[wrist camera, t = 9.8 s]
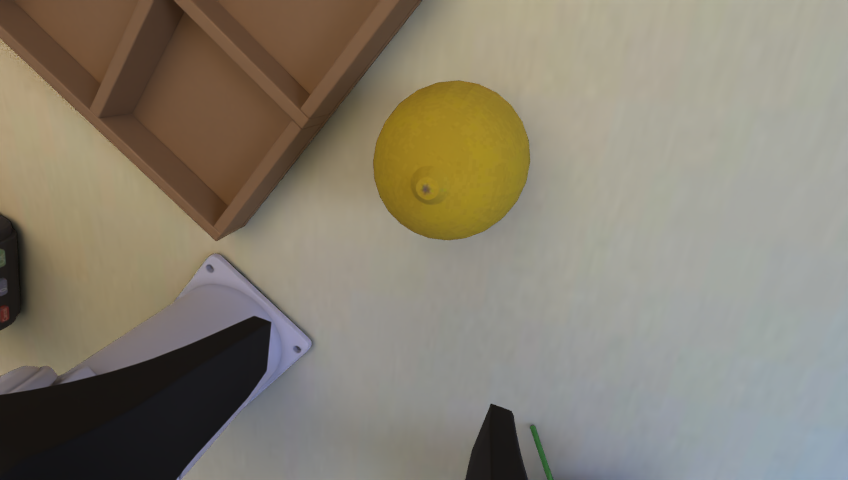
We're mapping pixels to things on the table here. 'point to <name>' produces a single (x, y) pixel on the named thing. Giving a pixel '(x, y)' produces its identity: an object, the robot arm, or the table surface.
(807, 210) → the table surface
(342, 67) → the divided wooden tray
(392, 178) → the lemon
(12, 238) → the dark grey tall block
